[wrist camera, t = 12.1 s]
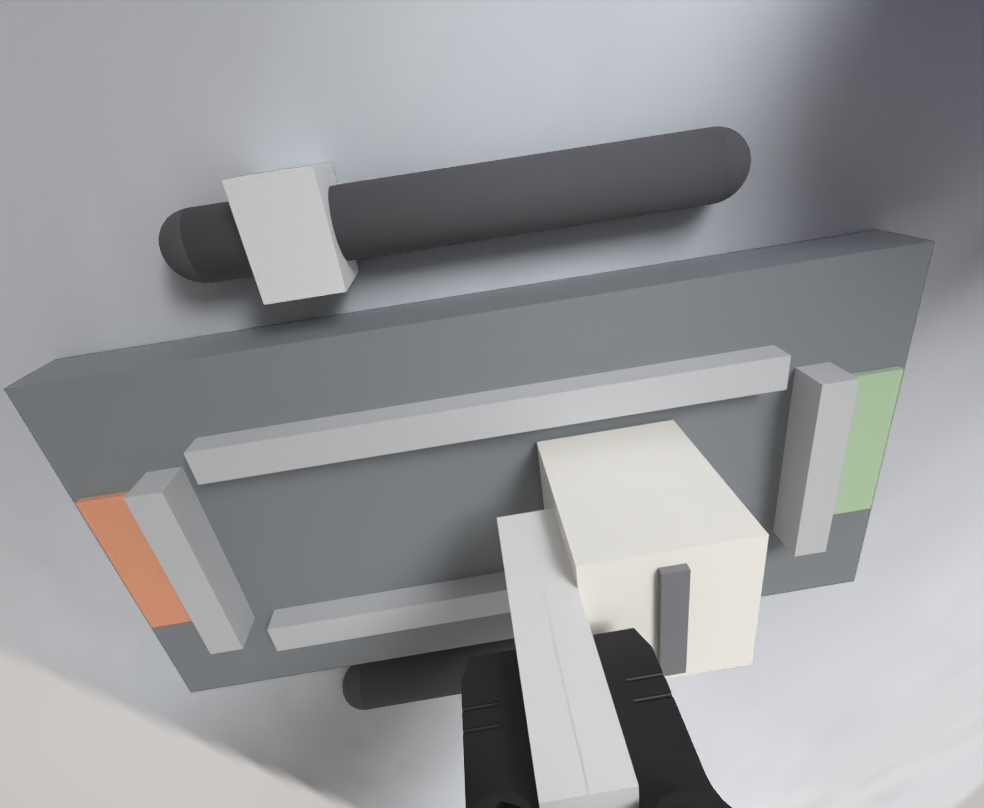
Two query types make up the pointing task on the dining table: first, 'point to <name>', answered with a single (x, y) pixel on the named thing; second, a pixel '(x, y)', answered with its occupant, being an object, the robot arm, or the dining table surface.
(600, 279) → the panel
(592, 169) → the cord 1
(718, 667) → the toggle
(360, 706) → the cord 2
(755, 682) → the dining table surface
